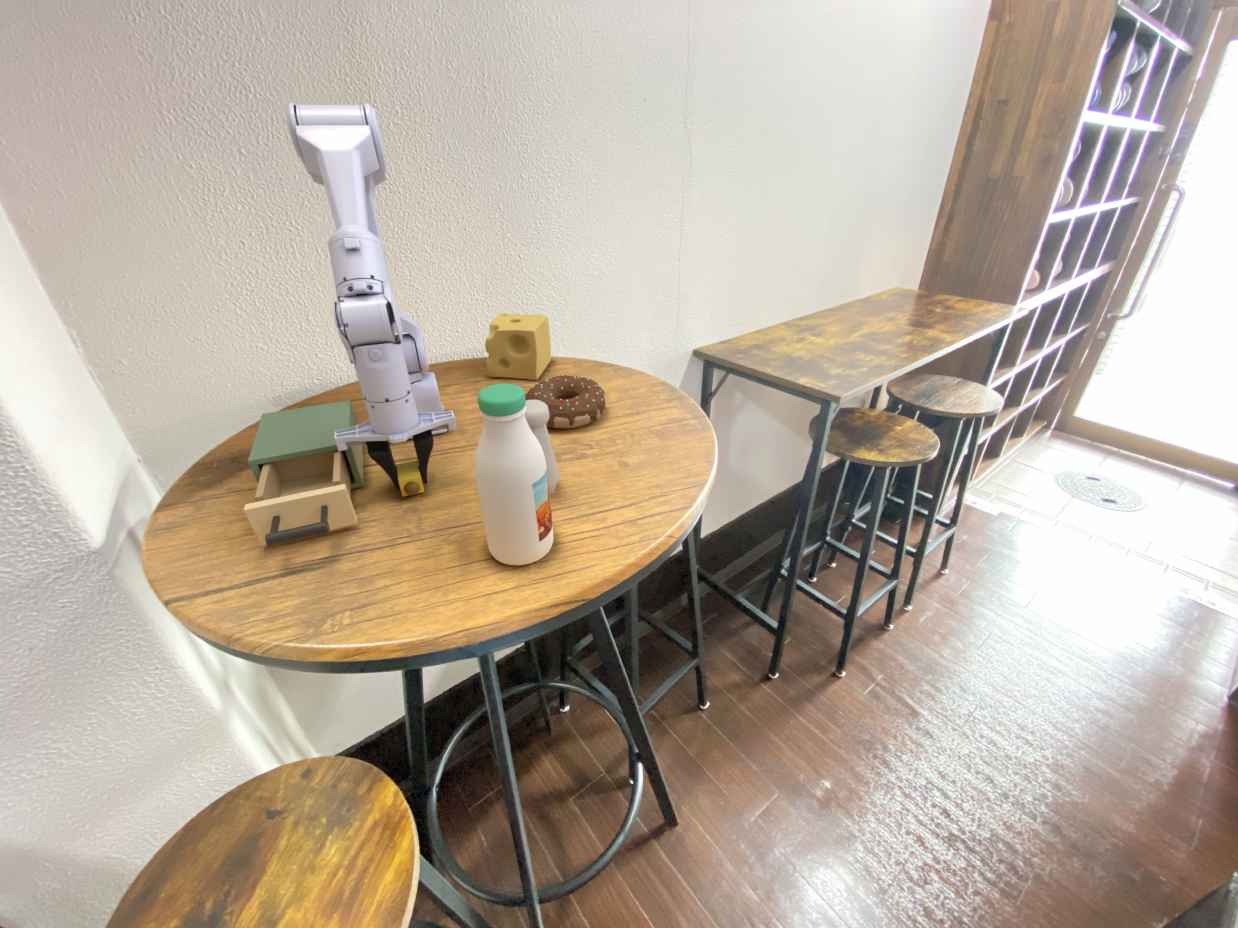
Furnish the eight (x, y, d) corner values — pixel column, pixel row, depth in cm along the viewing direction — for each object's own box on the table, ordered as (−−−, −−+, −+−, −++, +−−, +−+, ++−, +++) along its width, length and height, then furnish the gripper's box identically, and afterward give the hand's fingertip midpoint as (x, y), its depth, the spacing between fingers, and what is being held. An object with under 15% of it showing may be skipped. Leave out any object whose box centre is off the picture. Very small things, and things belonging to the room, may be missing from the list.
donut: (606, 396, 97) (605, 370, 95) (606, 433, 86) (606, 405, 83) (527, 397, 97) (525, 371, 94) (517, 434, 85) (514, 406, 83)
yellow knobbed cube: (420, 471, 76) (416, 456, 75) (425, 496, 71) (421, 480, 70) (399, 475, 75) (395, 460, 74) (403, 501, 70) (398, 484, 69)
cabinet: (363, 486, 73) (349, 442, 70) (268, 506, 70) (247, 460, 66) (362, 440, 84) (349, 399, 80) (279, 455, 80) (262, 413, 76)
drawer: (357, 547, 62) (344, 511, 59) (254, 572, 58) (235, 535, 55) (356, 471, 75) (346, 439, 72) (273, 488, 72) (258, 454, 69)
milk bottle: (525, 577, 59) (503, 416, 48) (474, 552, 62) (443, 397, 51) (567, 537, 64) (555, 385, 53) (518, 516, 68) (498, 370, 57)
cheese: (487, 378, 104) (480, 328, 99) (506, 357, 113) (500, 310, 108) (539, 381, 103) (534, 331, 97) (554, 360, 112) (550, 313, 106)
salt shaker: (553, 505, 70) (545, 417, 63) (512, 500, 71) (499, 413, 64) (565, 480, 75) (560, 396, 68) (527, 475, 76) (517, 392, 68)
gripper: (321, 417, 61) (354, 511, 68) (452, 395, 65) (469, 486, 73) (324, 392, 66) (354, 482, 74) (444, 374, 71) (461, 460, 78)
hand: (411, 482), depth 73 cm, fingers closed on yellow knobbed cube, 3 cm apart
